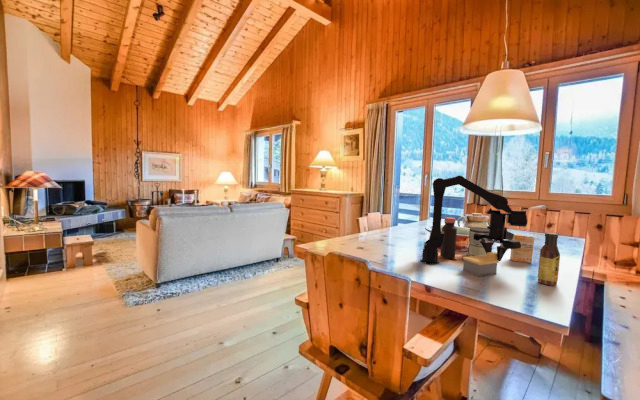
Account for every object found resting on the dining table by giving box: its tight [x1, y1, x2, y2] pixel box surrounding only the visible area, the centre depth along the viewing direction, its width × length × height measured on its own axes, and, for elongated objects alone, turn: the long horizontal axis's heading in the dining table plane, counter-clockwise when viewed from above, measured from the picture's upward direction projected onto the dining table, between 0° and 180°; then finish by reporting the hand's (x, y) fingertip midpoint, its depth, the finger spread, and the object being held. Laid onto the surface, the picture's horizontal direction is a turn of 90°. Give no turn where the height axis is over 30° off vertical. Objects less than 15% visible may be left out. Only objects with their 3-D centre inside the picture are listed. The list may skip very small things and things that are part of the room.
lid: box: [462, 251, 500, 265], centre depth 128 cm, size 16×8×3 cm, turn 112°
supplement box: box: [509, 233, 535, 264], centre depth 145 cm, size 8×5×13 cm, turn 68°
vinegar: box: [440, 216, 458, 260], centre depth 148 cm, size 7×7×20 cm
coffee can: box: [467, 226, 489, 257], centre depth 153 cm, size 10×10×14 cm
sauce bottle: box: [537, 232, 561, 287], centre depth 116 cm, size 7×6×20 cm
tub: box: [462, 259, 498, 278], centre depth 127 cm, size 10×8×5 cm
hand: (494, 259), depth 130 cm, fingers open, 4 cm apart
